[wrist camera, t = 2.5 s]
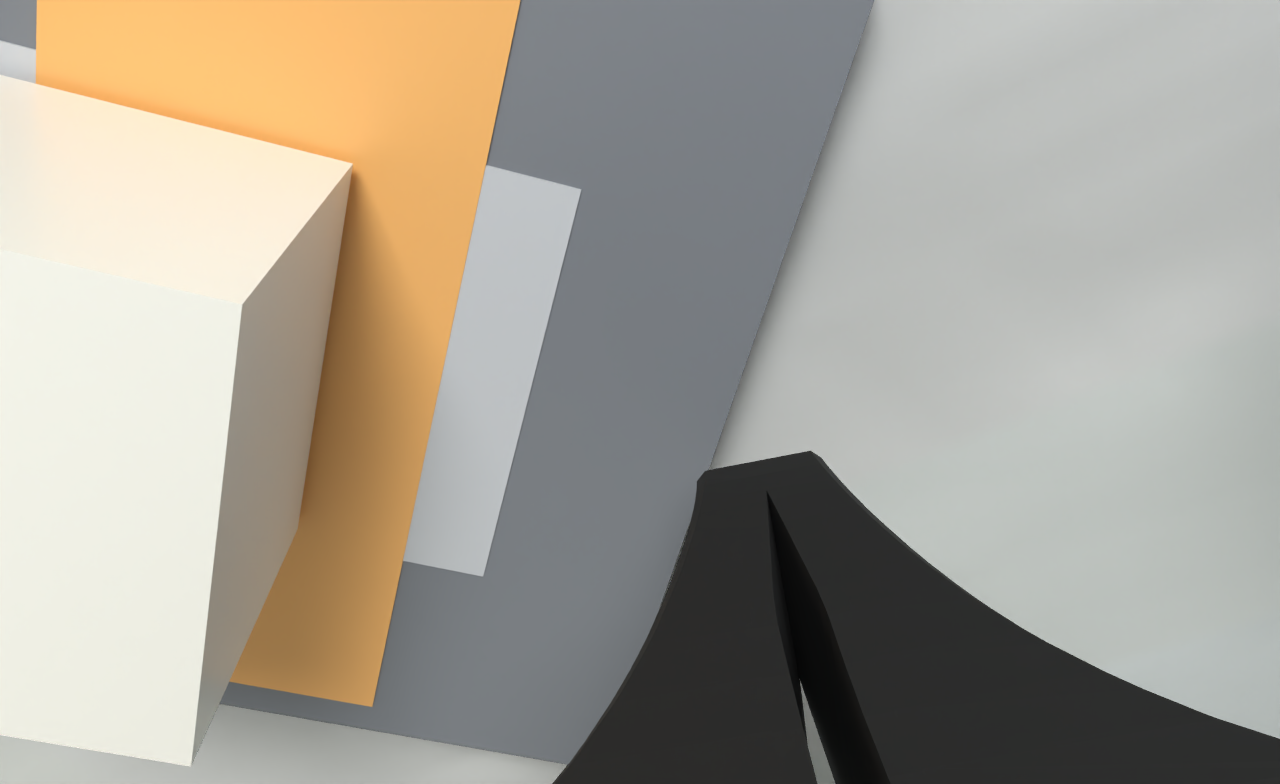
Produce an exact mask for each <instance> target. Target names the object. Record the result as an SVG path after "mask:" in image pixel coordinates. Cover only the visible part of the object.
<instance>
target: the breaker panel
mask: <svg viewBox="0 0 1280 784" xmlns="http://www.w3.org/2000/svg"><path fill="white" fill-rule="evenodd" d="M873 2H874V0H0V75H3V76H7V77H11V78H15V79H19V80H23V81H27V82H31V83H35V84H39V85H43V86H47V87H51V88H55V89H59V90H63V91H67V92H71V93H75V94H79V95H83V96H87V97H91V98H95V99H99V100H103V101H106V102H110V103H114V104H118V105H122V106H126V107H130V108H134V109H138V110H142V111H146V112H150V113H154V114H158V115H162V116H166V117H170V118H174V119H178V120H182V121H186V122H190V123H194V124H198V125H202V126H206V127H210V128H214V129H218V130H222V131H226V132H230V133H234V134H237V135H241V136H245V137H249V138H253V139H257V140H261V141H265V142H269V143H273V144H277V145H281V146H285V147H289V148H293V149H297V150H301V151H305V152H309V153H313V154H317V155H321V156H325V157H329V158H333V159H337V160H341V161H345V162H349V163H353V168H352V174H351V181H350V188H349V194H348V201H347V207H346V214H345V220H344V227H343V234H342V240H341V247H340V253H339V260H338V266H337V273H336V280H335V286H334V293H333V299H332V306H331V313H330V319H329V326H328V332H327V339H326V345H325V352H324V359H323V365H322V372H321V378H320V385H319V391H318V398H317V405H316V411H315V418H314V424H313V431H312V437H311V444H310V451H309V457H308V464H307V470H306V477H305V484H304V490H303V497H302V503H301V510H300V516H299V523H298V529H297V532H296V534H295V536H294V538H293V540H292V543H291V545H290V547H289V549H288V552H287V554H286V556H285V558H284V561H283V563H282V565H281V567H280V569H279V572H278V574H277V576H276V578H275V581H274V583H273V585H272V587H271V589H270V592H269V594H268V596H267V598H266V601H265V603H264V605H263V607H262V610H261V612H260V614H259V616H258V618H257V621H256V623H255V625H254V627H253V630H252V632H251V634H250V636H249V639H248V641H247V643H246V645H245V647H244V650H243V652H242V654H241V656H240V659H239V661H238V663H237V665H236V667H235V670H234V672H233V674H232V676H231V679H230V681H229V683H228V685H227V688H226V690H225V692H224V694H223V696H222V699H221V701H220V703H219V704H223V705H229V706H235V707H241V708H246V709H252V710H258V711H264V712H269V713H275V714H281V715H287V716H292V717H298V718H304V719H310V720H315V721H321V722H327V723H333V724H338V725H344V726H350V727H356V728H361V729H367V730H373V731H378V732H384V733H390V734H396V735H401V736H407V737H413V738H419V739H424V740H430V741H436V742H442V743H447V744H453V745H459V746H465V747H470V748H476V749H482V750H488V751H493V752H499V753H505V754H511V755H516V756H522V757H528V758H533V759H539V760H545V761H551V762H556V763H562V764H569V763H570V761H571V760H572V759H573V757H574V756H575V754H576V753H577V752H578V750H579V749H580V748H581V746H582V745H583V743H584V742H585V741H586V739H587V738H588V736H589V735H590V733H591V732H592V730H593V729H594V727H595V726H596V724H597V723H598V721H599V720H600V718H601V717H602V715H603V714H604V712H605V711H606V709H607V707H608V706H609V704H610V703H611V701H612V700H613V698H614V697H615V695H616V693H617V691H618V690H619V688H620V686H621V685H622V683H623V681H624V679H625V678H626V676H627V674H628V673H629V671H630V669H631V667H632V665H633V663H634V662H635V660H636V658H637V656H638V654H639V652H640V650H641V648H642V646H643V644H644V642H645V640H646V638H647V636H648V634H649V632H650V630H651V627H652V625H653V623H654V620H655V618H656V616H657V614H658V611H659V609H660V606H661V603H662V600H663V597H664V595H665V592H666V589H667V586H668V583H669V580H670V578H671V575H672V572H673V569H674V566H675V563H676V561H677V558H678V555H679V552H680V549H681V546H682V544H683V541H684V538H685V535H686V532H687V529H688V527H689V524H690V521H691V518H692V513H693V509H694V504H695V497H696V490H697V480H698V479H699V478H700V477H701V475H702V474H703V473H704V472H705V471H708V470H709V467H710V464H711V461H712V459H713V456H714V453H715V450H716V447H717V444H718V442H719V439H720V436H721V433H722V430H723V427H724V425H725V422H726V419H727V416H728V413H729V410H730V408H731V405H732V402H733V399H734V396H735V393H736V391H737V388H738V385H739V382H740V379H741V376H742V374H743V371H744V368H745V365H746V362H747V359H748V357H749V354H750V351H751V348H752V345H753V342H754V340H755V337H756V334H757V331H758V328H759V325H760V323H761V320H762V317H763V314H764V311H765V308H766V306H767V303H768V300H769V297H770V294H771V291H772V289H773V286H774V283H775V280H776V277H777V274H778V272H779V269H780V266H781V263H782V260H783V257H784V255H785V252H786V249H787V246H788V243H789V240H790V238H791V235H792V232H793V229H794V226H795V223H796V221H797V218H798V215H799V212H800V209H801V206H802V204H803V201H804V198H805V195H806V192H807V189H808V187H809V184H810V181H811V178H812V175H813V172H814V170H815V167H816V164H817V161H818V158H819V155H820V153H821V150H822V147H823V144H824V141H825V138H826V136H827V133H828V130H829V127H830V124H831V121H832V119H833V116H834V113H835V110H836V107H837V104H838V102H839V99H840V96H841V93H842V90H843V87H844V85H845V82H846V79H847V76H848V73H849V70H850V68H851V65H852V62H853V59H854V56H855V53H856V51H857V48H858V45H859V42H860V39H861V36H862V34H863V31H864V28H865V25H866V22H867V19H868V16H869V14H870V11H871V8H872V5H873Z"/></svg>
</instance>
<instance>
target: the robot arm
mask: <svg viewBox="0 0 1280 784" xmlns="http://www.w3.org/2000/svg"><path fill="white" fill-rule="evenodd" d="M800 681H801V684H802V687H803V690H804V693H805V696H806V699H807V701H808V704H809V707H810V710H811V713H812V716H813V719H814V722H815V725H816V728H817V731H818V734H819V736H820V739H821V742H822V745H823V748H824V751H825V754H826V757H827V760H828V763H829V765H830V768H831V771H832V774H833V777H834V780H835V783H836V784H1280V739H1278V738H1275V737H1272V736H1269V735H1266V734H1263V733H1260V732H1257V731H1254V730H1251V729H1248V728H1245V727H1241V726H1238V725H1235V724H1232V723H1229V722H1226V721H1223V720H1220V719H1217V718H1214V717H1212V716H1209V715H1206V714H1204V713H1201V712H1199V711H1196V710H1194V709H1191V708H1189V707H1186V706H1184V705H1181V704H1179V703H1176V702H1174V701H1171V700H1169V699H1167V698H1164V697H1162V696H1159V695H1157V694H1154V693H1152V692H1149V691H1147V690H1144V689H1142V688H1140V687H1137V686H1135V685H1133V684H1131V683H1129V682H1126V681H1124V680H1122V679H1120V678H1118V677H1115V676H1113V675H1111V674H1109V673H1106V672H1104V671H1102V670H1100V669H1099V668H1097V667H1095V666H1093V665H1091V664H1089V663H1087V662H1085V661H1083V660H1081V659H1079V658H1077V657H1075V656H1073V655H1071V654H1069V653H1067V652H1065V651H1063V650H1061V649H1059V648H1057V647H1055V646H1053V645H1051V644H1049V643H1047V642H1045V641H1044V640H1042V639H1040V638H1038V637H1037V636H1035V635H1033V634H1031V633H1029V632H1028V631H1026V630H1024V629H1023V628H1021V627H1019V626H1018V625H1016V624H1015V623H1013V622H1012V621H1010V620H1008V619H1007V618H1005V617H1004V616H1002V615H1000V614H999V613H997V612H996V611H994V610H993V609H991V608H990V607H988V606H987V605H985V604H984V603H982V602H981V601H979V600H978V599H976V598H975V597H974V596H972V595H971V594H969V593H968V592H967V591H965V590H964V589H962V588H961V587H960V586H958V585H957V584H956V583H954V582H953V581H952V580H950V579H949V578H948V577H946V576H945V575H944V574H943V573H941V572H940V571H939V570H937V569H936V568H935V567H933V566H932V565H931V564H930V563H928V562H927V561H926V560H925V559H923V558H922V557H921V556H920V555H919V554H917V553H916V552H915V551H914V550H913V549H911V548H910V547H909V546H908V545H907V544H906V543H904V542H903V541H902V540H901V539H900V538H899V537H898V536H897V535H896V534H894V533H893V532H892V531H891V530H890V529H889V528H888V527H887V526H885V525H884V524H883V523H882V522H881V521H880V520H879V519H878V518H877V517H876V516H875V515H873V514H872V513H871V512H870V511H869V510H868V509H867V508H866V507H865V506H864V505H863V504H862V503H861V502H860V501H859V500H858V499H857V498H856V497H855V496H854V495H853V494H852V493H851V492H850V491H849V490H848V488H847V487H846V486H845V485H844V484H843V483H842V482H841V481H840V480H839V479H838V478H837V476H836V475H835V474H834V473H833V472H832V471H831V469H830V468H829V467H828V466H827V465H826V463H825V462H824V461H823V459H822V458H821V457H819V456H818V455H816V454H815V453H813V452H812V451H807V452H802V453H797V454H791V455H786V456H781V457H776V458H770V459H765V460H760V461H755V462H750V463H744V464H739V465H734V466H729V467H723V468H718V469H713V470H708V471H705V472H704V473H703V474H702V475H701V477H700V478H699V479H698V480H697V490H696V497H695V504H694V509H693V513H692V518H691V522H690V525H689V529H688V532H687V536H686V540H685V543H684V546H683V549H682V552H681V555H680V558H679V560H678V563H677V566H676V569H675V572H674V575H673V578H672V581H671V583H670V586H669V588H668V591H667V593H666V595H665V598H664V600H663V602H662V605H661V607H660V609H659V611H658V614H657V616H656V618H655V620H654V623H653V625H652V627H651V630H650V632H649V634H648V636H647V638H646V640H645V642H644V644H643V646H642V648H641V650H640V652H639V654H638V656H637V658H636V660H635V662H634V663H633V665H632V667H631V669H630V671H629V673H628V674H627V676H626V678H625V679H624V681H623V683H622V685H621V686H620V688H619V690H618V691H617V693H616V695H615V697H614V698H613V700H612V701H611V703H610V704H609V706H608V707H607V709H606V711H605V712H604V714H603V715H602V717H601V718H600V720H599V721H598V723H597V724H596V726H595V727H594V729H593V730H592V732H591V733H590V735H589V736H588V738H587V739H586V741H585V742H584V743H583V745H582V746H581V748H580V749H579V750H578V752H577V753H576V754H575V756H574V757H573V759H572V760H571V761H570V763H569V764H568V765H567V767H566V768H565V769H564V770H563V772H562V773H561V774H560V775H559V776H558V778H557V779H556V780H555V781H554V782H553V784H817V781H816V777H815V773H814V769H813V765H812V761H811V757H810V753H809V750H808V745H807V736H806V728H805V720H804V711H803V703H802V694H801V686H800Z"/></svg>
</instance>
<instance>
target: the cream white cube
mask: <svg viewBox="0 0 1280 784" xmlns="http://www.w3.org/2000/svg"><path fill="white" fill-rule="evenodd" d="M352 168H353V163H349V162H345V161H341V160H337V159H333V158H329V157H325V156H321V155H317V154H313V153H309V152H305V151H301V150H297V149H293V148H289V147H285V146H281V145H277V144H273V143H269V142H265V141H261V140H257V139H253V138H249V137H245V136H241V135H237V134H234V133H230V132H226V131H222V130H218V129H214V128H210V127H206V126H202V125H198V124H194V123H190V122H186V121H182V120H178V119H174V118H170V117H166V116H162V115H158V114H154V113H150V112H146V111H142V110H138V109H134V108H130V107H126V106H122V105H118V104H114V103H110V102H106V101H103V100H99V99H95V98H91V97H87V96H83V95H79V94H75V93H71V92H67V91H63V90H59V89H55V88H51V87H47V86H43V85H39V84H35V83H31V82H27V81H23V80H19V79H15V78H11V77H7V76H3V75H0V735H3V736H9V737H15V738H21V739H27V740H33V741H39V742H45V743H51V744H57V745H64V746H70V747H76V748H82V749H88V750H94V751H100V752H106V753H112V754H118V755H124V756H130V757H136V758H142V759H148V760H154V761H160V762H166V763H173V764H179V765H185V766H192V763H193V761H194V759H195V757H196V754H197V752H198V750H199V748H200V745H201V743H202V741H203V739H204V737H205V734H206V732H207V730H208V728H209V725H210V723H211V721H212V719H213V717H214V714H215V712H216V710H217V708H218V705H219V703H220V701H221V699H222V696H223V694H224V692H225V690H226V688H227V685H228V683H229V681H230V679H231V676H232V674H233V672H234V670H235V667H236V665H237V663H238V661H239V659H240V656H241V654H242V652H243V650H244V647H245V645H246V643H247V641H248V639H249V636H250V634H251V632H252V630H253V627H254V625H255V623H256V621H257V618H258V616H259V614H260V612H261V610H262V607H263V605H264V603H265V601H266V598H267V596H268V594H269V592H270V589H271V587H272V585H273V583H274V581H275V578H276V576H277V574H278V572H279V569H280V567H281V565H282V563H283V561H284V558H285V556H286V554H287V552H288V549H289V547H290V545H291V543H292V540H293V538H294V536H295V534H296V532H297V529H298V523H299V516H300V510H301V503H302V497H303V490H304V484H305V477H306V470H307V464H308V457H309V451H310V444H311V437H312V431H313V424H314V418H315V411H316V405H317V398H318V391H319V385H320V378H321V372H322V365H323V359H324V352H325V345H326V339H327V332H328V326H329V319H330V313H331V306H332V299H333V293H334V286H335V280H336V273H337V266H338V260H339V253H340V247H341V240H342V234H343V227H344V220H345V214H346V207H347V201H348V194H349V188H350V181H351V174H352Z"/></svg>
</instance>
